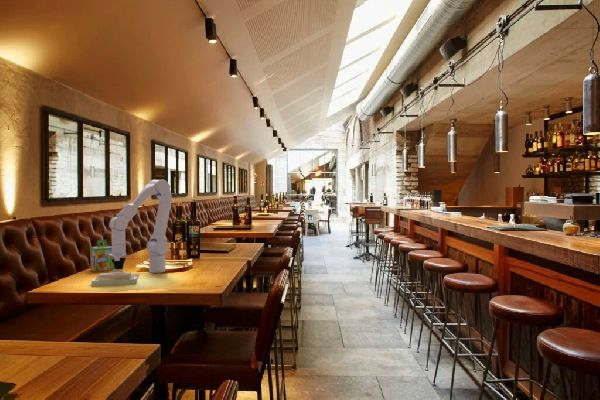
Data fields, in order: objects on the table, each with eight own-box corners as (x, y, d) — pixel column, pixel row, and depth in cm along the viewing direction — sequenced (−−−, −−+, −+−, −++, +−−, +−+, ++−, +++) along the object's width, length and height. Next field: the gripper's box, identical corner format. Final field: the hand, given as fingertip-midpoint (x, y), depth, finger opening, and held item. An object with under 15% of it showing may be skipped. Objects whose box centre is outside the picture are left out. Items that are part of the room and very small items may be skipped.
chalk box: (96, 273, 222) (95, 242, 222) (89, 270, 229) (89, 240, 229) (115, 270, 228) (115, 240, 228) (109, 268, 235) (108, 238, 235)
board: (97, 277, 212) (97, 275, 212) (140, 275, 216) (140, 273, 216) (89, 288, 190) (89, 286, 190) (136, 286, 195) (136, 283, 195)
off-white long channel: (93, 283, 195) (93, 278, 195) (137, 281, 200) (136, 276, 200) (91, 286, 191) (91, 281, 190) (136, 283, 195) (135, 278, 195)
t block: (103, 279, 204) (103, 270, 204) (132, 277, 207) (132, 268, 207) (98, 285, 192) (98, 275, 192) (130, 283, 195) (129, 273, 195)
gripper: (111, 242, 215) (111, 271, 215) (106, 246, 201) (107, 278, 201) (127, 241, 217) (128, 271, 217) (124, 246, 203) (124, 277, 203)
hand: (119, 274), depth 209 cm, fingers closed
